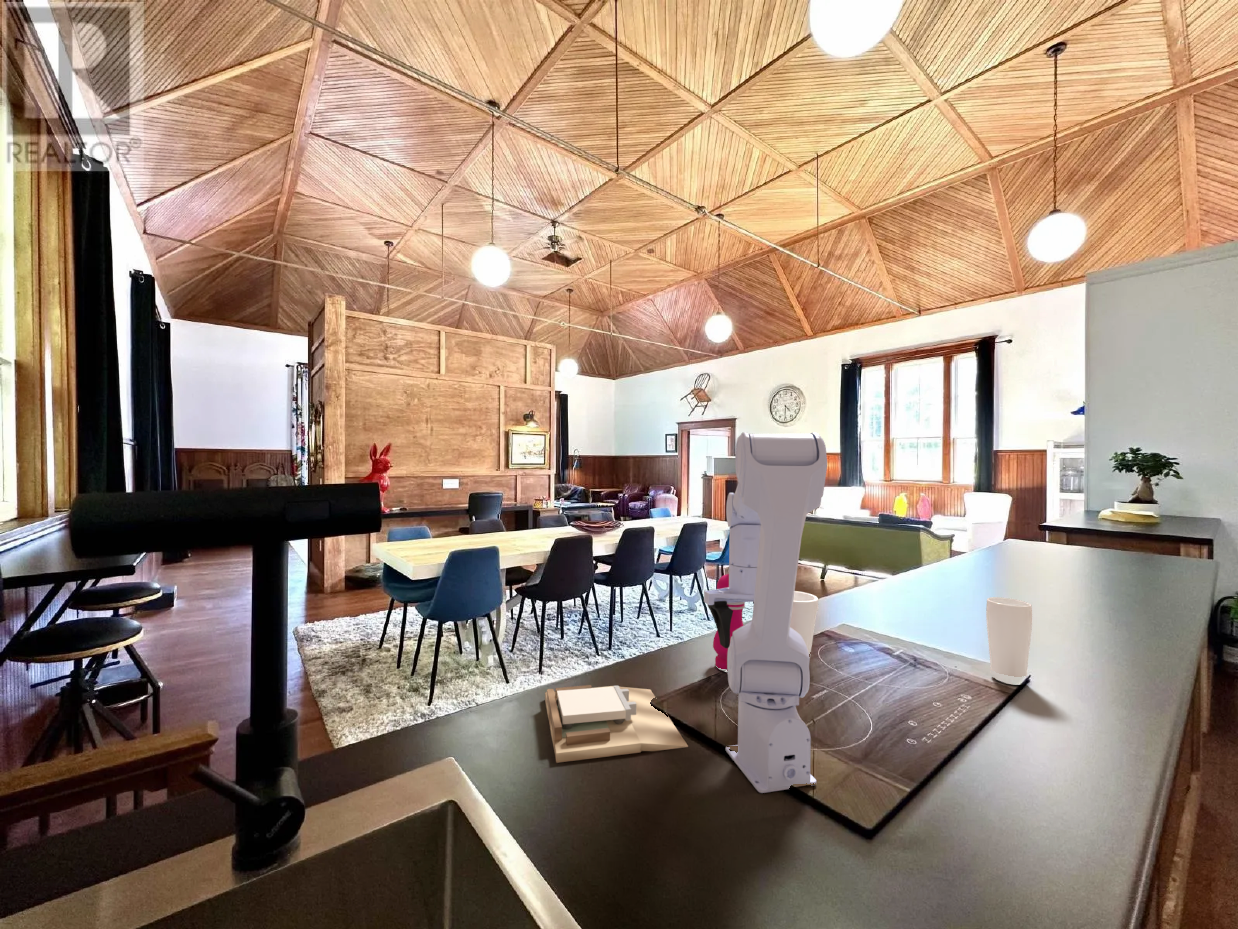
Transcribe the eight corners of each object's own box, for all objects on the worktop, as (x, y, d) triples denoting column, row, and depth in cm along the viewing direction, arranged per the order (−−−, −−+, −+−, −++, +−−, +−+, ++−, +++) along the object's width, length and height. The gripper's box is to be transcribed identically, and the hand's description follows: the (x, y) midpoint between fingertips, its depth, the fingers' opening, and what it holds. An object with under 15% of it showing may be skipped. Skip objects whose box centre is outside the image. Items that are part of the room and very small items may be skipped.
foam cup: (809, 671, 95) (810, 604, 95) (762, 659, 100) (763, 596, 100) (822, 657, 102) (823, 595, 102) (778, 647, 108) (779, 588, 108)
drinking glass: (1041, 689, 88) (1042, 607, 88) (1003, 688, 88) (1004, 606, 88) (1012, 674, 95) (1012, 597, 95) (977, 673, 95) (977, 596, 95)
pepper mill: (751, 677, 92) (752, 571, 92) (712, 673, 93) (713, 569, 93) (749, 662, 99) (750, 564, 99) (712, 659, 100) (714, 562, 100)
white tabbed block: (638, 724, 71) (639, 708, 72) (561, 732, 69) (561, 715, 69) (625, 699, 79) (625, 685, 79) (555, 705, 77) (555, 690, 77)
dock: (688, 753, 68) (688, 724, 68) (556, 770, 64) (556, 739, 64) (650, 695, 86) (650, 672, 86) (544, 705, 81) (545, 681, 81)
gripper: (772, 559, 88) (771, 634, 88) (697, 561, 85) (696, 639, 85) (794, 566, 81) (793, 648, 81) (714, 569, 78) (713, 654, 78)
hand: (745, 644), depth 82 cm, fingers open, 7 cm apart
